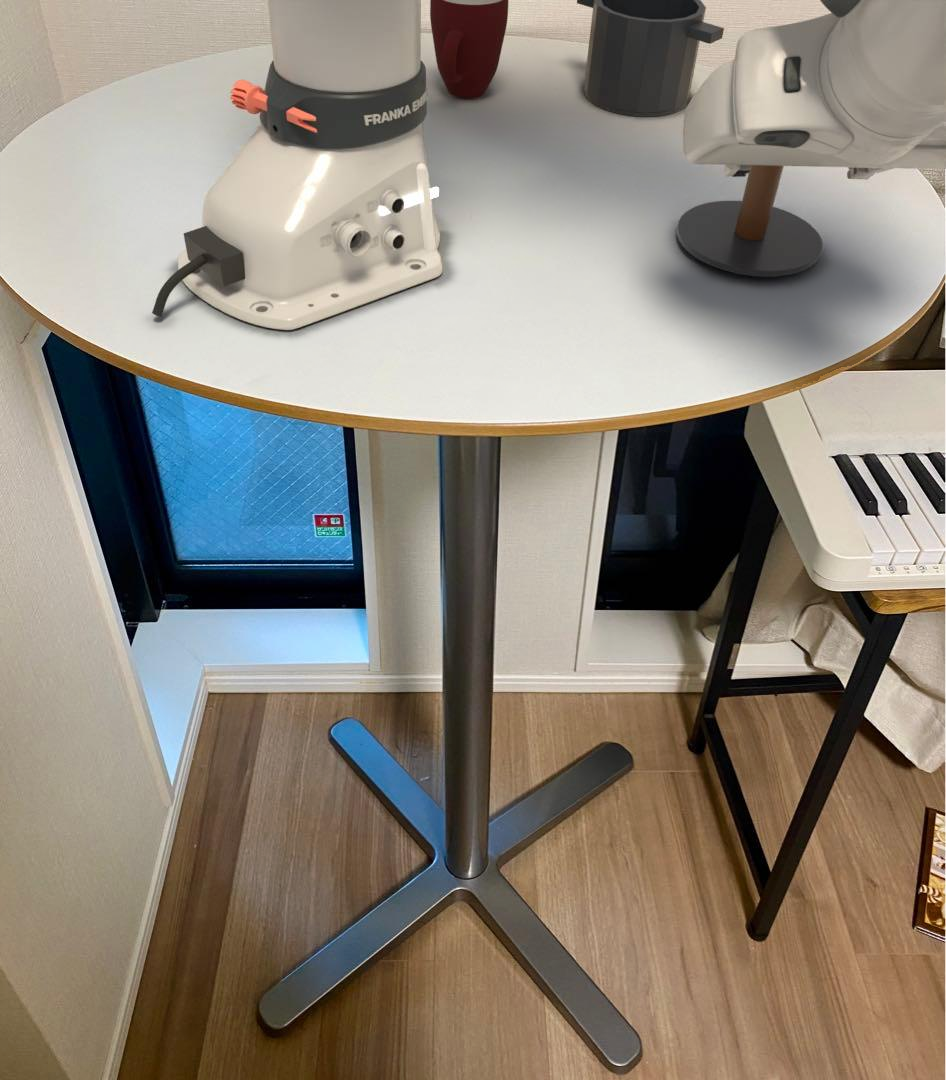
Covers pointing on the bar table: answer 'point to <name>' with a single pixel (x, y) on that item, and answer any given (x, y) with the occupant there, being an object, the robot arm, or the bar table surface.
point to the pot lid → (751, 231)
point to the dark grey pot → (644, 54)
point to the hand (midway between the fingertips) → (795, 168)
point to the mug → (468, 43)
